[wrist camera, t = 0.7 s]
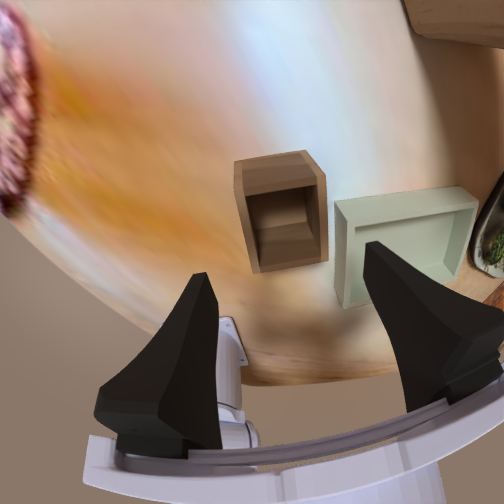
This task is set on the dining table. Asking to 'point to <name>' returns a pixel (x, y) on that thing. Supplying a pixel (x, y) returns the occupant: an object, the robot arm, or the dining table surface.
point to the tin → (497, 302)
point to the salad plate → (490, 234)
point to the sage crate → (402, 235)
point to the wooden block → (459, 20)
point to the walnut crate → (282, 210)
